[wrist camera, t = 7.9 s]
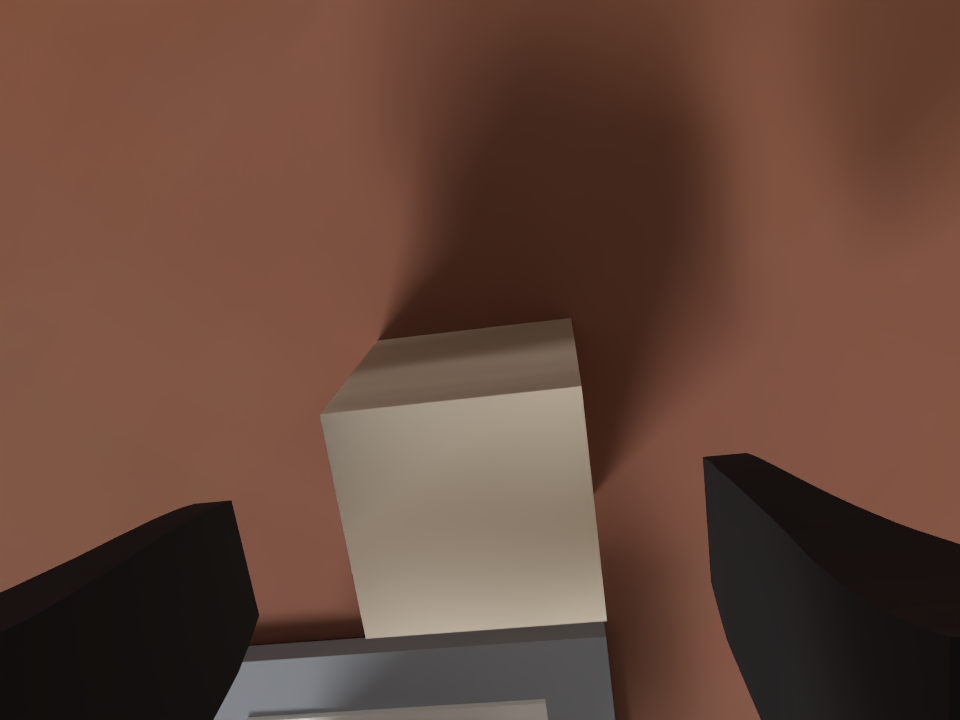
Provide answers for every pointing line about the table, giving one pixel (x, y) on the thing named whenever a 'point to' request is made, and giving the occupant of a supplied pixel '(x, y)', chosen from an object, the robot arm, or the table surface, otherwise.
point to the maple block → (467, 482)
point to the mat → (430, 677)
